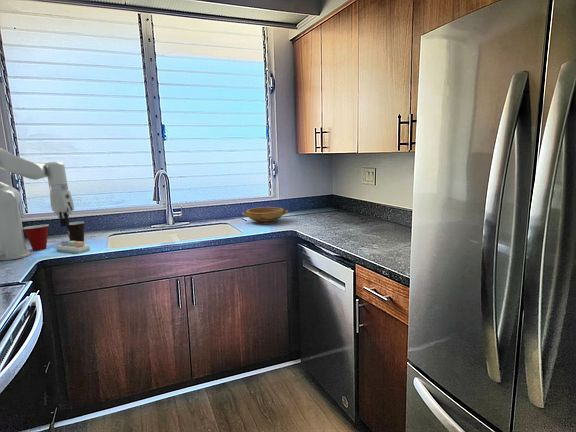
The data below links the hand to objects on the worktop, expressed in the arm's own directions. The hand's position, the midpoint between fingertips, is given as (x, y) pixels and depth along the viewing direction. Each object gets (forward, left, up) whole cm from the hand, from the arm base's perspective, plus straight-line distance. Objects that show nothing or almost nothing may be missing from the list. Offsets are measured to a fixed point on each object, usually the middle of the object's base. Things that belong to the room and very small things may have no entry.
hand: (65, 225), depth 178 cm
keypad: (-1, -4, -12) cm, 13 cm away
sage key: (-1, -4, -9) cm, 10 cm away
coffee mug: (+12, +10, -12) cm, 20 cm away
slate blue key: (-1, 0, -9) cm, 9 cm away
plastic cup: (-4, +16, -12) cm, 20 cm away
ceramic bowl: (+87, -65, -12) cm, 110 cm away
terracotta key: (-1, -9, -9) cm, 13 cm away
